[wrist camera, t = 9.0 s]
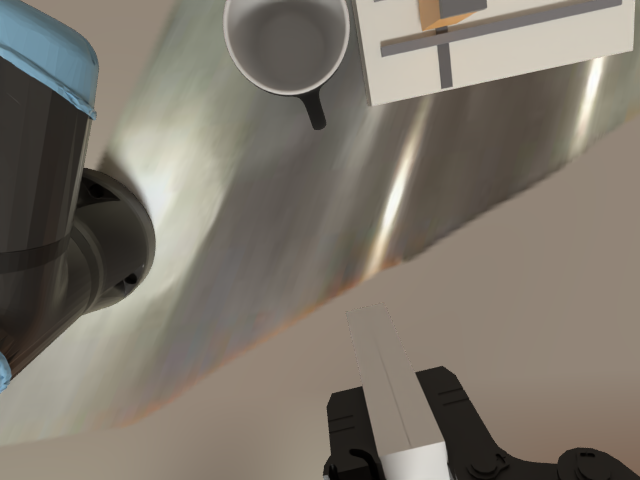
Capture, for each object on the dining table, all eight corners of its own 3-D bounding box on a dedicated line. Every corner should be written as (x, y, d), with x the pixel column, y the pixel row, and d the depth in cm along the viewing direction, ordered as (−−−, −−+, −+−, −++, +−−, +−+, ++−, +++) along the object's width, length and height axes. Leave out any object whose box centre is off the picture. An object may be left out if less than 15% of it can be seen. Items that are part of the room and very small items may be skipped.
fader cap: (420, 32, 34) (443, 17, 29) (416, -4, 33) (439, -27, 28) (457, 24, 34) (487, 7, 28) (454, -12, 33) (484, -37, 28)
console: (368, 106, 39) (372, 106, 36) (344, -46, 35) (347, -60, 32) (612, 54, 38) (637, 49, 35) (617, -108, 34) (645, -128, 31)
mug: (228, 16, 36) (200, -18, 27) (320, -22, 36) (325, -71, 26) (277, 142, 40) (267, 153, 30) (361, 110, 39) (379, 111, 30)
